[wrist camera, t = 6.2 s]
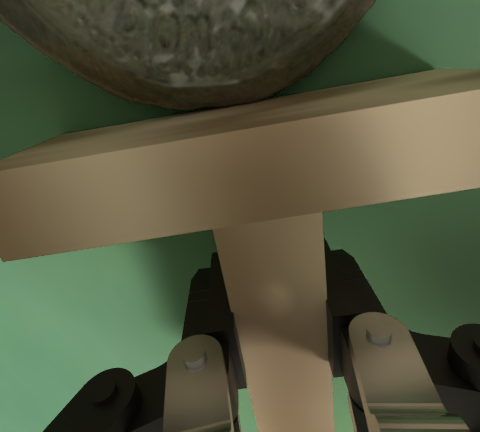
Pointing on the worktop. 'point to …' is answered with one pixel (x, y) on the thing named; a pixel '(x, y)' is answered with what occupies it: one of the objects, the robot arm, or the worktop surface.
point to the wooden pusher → (253, 203)
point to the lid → (186, 44)
